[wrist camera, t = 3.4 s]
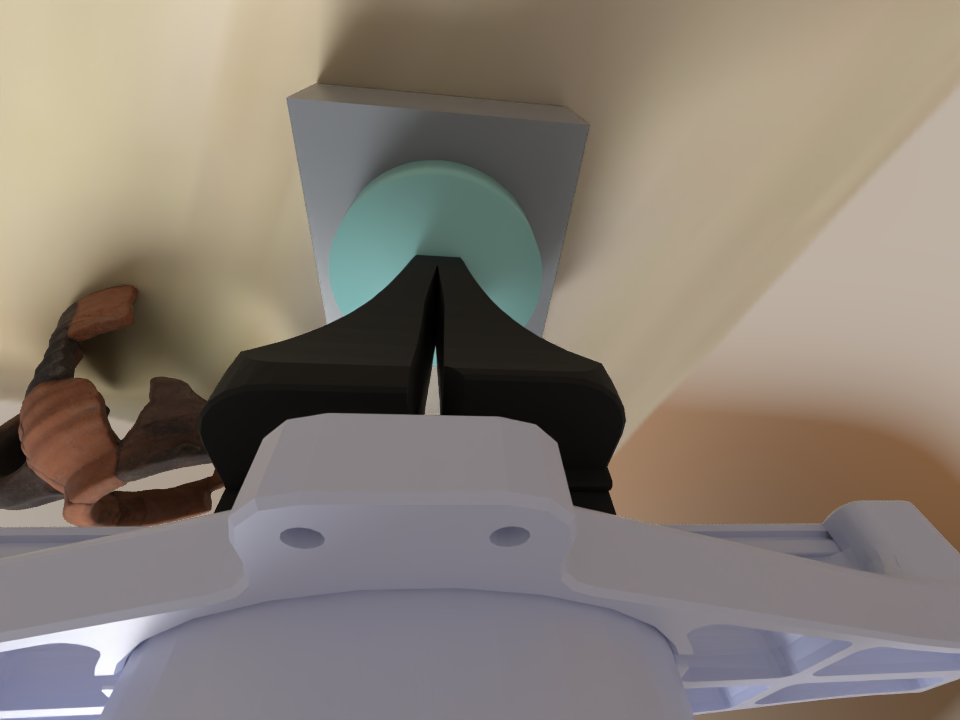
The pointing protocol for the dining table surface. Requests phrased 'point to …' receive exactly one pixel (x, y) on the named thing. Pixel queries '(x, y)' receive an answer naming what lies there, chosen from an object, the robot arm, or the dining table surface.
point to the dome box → (435, 136)
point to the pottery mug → (100, 435)
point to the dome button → (436, 235)
